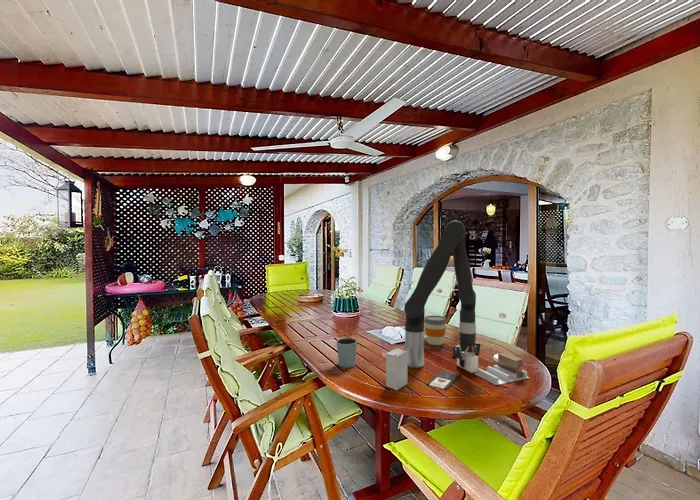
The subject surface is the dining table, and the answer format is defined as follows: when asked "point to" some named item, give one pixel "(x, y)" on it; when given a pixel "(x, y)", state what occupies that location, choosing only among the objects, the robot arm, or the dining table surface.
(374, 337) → the dining table surface
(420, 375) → the dining table surface
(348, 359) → the grey cup
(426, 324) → the reusable coffee cup
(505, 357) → the brown rectangular block
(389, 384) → the skincare box
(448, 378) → the chocolate bar
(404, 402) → the dining table surface
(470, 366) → the cream rectangular block
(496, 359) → the white round tin
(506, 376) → the dish rack
